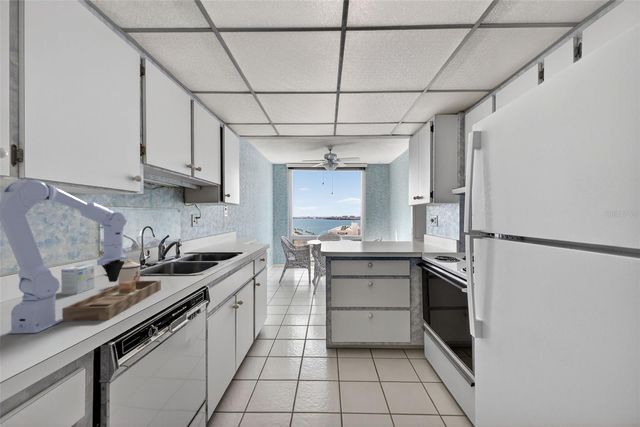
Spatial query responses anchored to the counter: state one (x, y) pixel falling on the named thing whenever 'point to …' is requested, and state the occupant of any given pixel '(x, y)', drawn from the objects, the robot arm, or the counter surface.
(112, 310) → the track
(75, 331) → the counter surface
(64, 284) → the light bulb box
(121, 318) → the counter surface
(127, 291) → the block
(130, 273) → the teacup with lid
